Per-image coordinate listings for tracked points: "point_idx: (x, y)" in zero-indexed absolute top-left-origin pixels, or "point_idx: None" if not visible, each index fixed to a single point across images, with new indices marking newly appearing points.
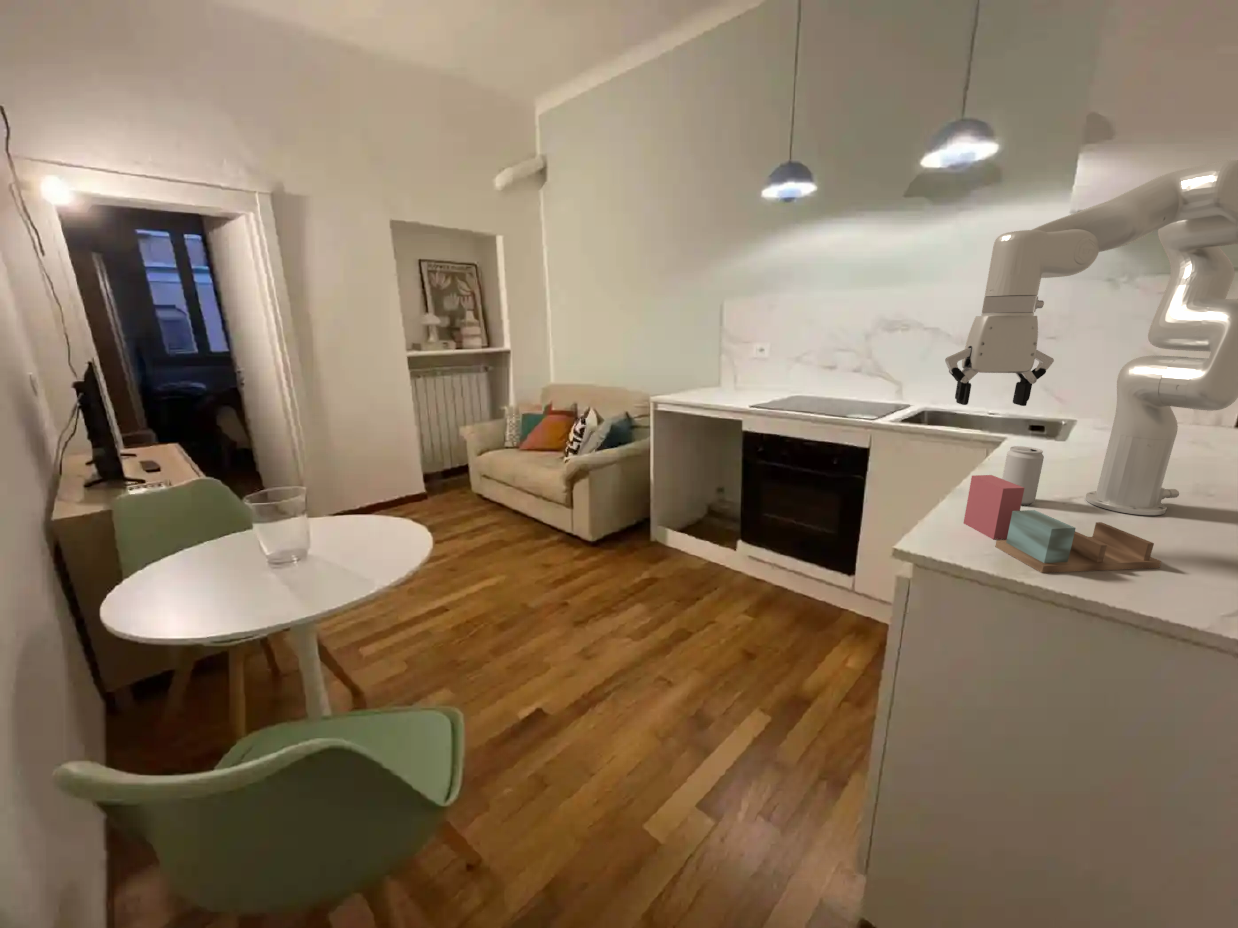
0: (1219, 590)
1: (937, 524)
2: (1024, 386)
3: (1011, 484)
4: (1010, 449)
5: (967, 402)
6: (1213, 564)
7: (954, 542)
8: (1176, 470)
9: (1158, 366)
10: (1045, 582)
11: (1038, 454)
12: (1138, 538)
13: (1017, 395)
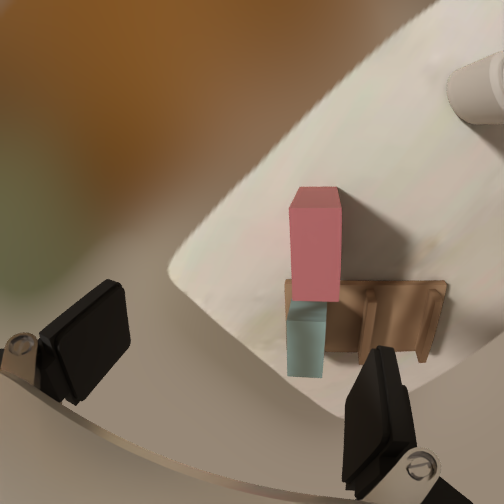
0: (423, 380)
1: (250, 189)
2: (345, 472)
3: (330, 280)
4: (499, 64)
5: (124, 348)
6: (484, 337)
7: (237, 259)
8: None
9: None
10: (274, 358)
11: None
12: (425, 351)
13: (362, 402)
